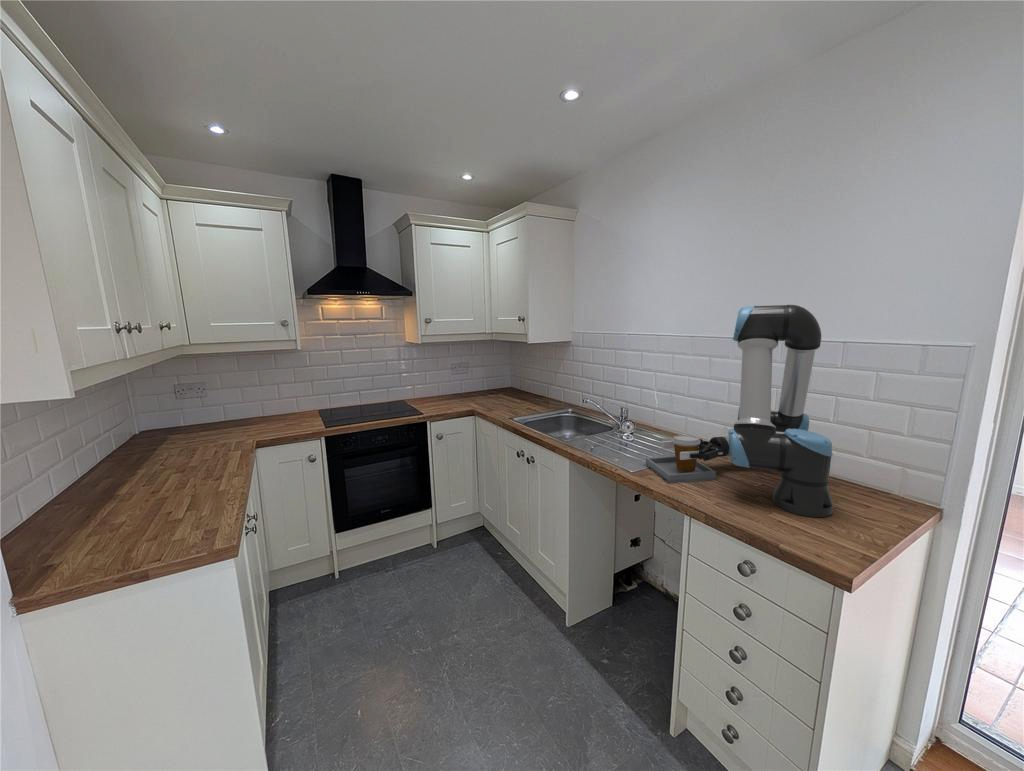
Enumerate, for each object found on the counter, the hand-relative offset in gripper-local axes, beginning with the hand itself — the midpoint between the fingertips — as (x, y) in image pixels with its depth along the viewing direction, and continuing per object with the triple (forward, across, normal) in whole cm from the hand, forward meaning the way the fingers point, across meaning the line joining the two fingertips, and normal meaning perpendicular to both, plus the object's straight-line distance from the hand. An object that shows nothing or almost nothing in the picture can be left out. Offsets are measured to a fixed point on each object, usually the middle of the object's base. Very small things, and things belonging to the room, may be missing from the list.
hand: (671, 450), depth 150 cm
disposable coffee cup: (-5, -2, -7) cm, 9 cm away
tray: (-4, 0, -9) cm, 10 cm away
